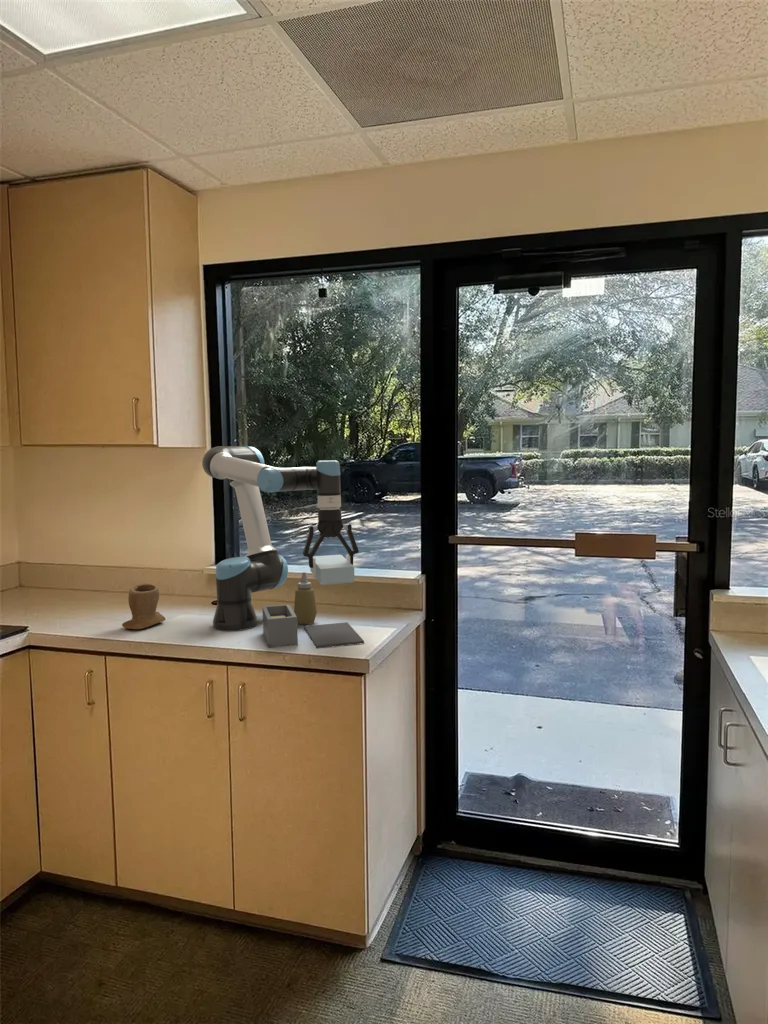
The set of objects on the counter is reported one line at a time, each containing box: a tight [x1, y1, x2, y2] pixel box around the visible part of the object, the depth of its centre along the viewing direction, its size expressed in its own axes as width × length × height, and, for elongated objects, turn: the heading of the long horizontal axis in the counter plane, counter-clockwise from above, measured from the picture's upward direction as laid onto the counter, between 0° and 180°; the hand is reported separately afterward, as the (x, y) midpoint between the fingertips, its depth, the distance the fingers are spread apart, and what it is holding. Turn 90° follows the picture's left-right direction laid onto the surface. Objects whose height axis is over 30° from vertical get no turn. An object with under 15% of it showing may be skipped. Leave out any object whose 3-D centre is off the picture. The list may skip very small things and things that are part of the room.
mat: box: [303, 621, 365, 649], centre depth 212 cm, size 24×15×1 cm, turn 16°
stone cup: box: [121, 583, 166, 630], centre depth 228 cm, size 15×12×15 cm
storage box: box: [261, 604, 299, 649], centre depth 209 cm, size 18×9×9 cm, turn 16°
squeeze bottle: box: [293, 571, 318, 626], centre depth 228 cm, size 8×8×18 cm
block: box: [309, 554, 355, 586], centre depth 210 cm, size 20×11×5 cm, turn 16°
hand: (331, 576), depth 210 cm, fingers closed on block, 11 cm apart
